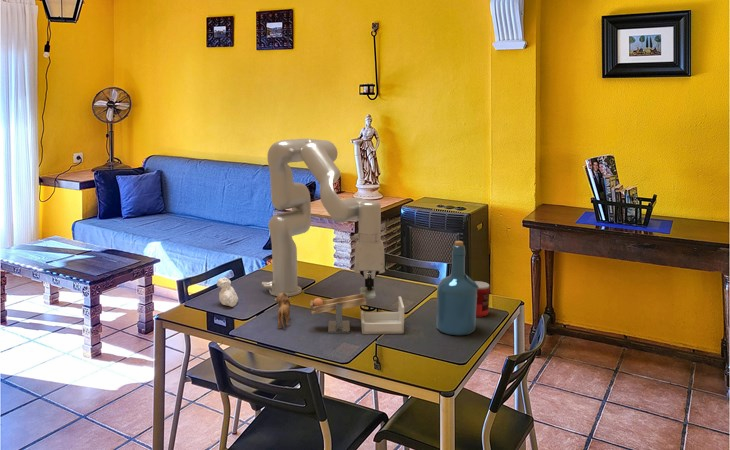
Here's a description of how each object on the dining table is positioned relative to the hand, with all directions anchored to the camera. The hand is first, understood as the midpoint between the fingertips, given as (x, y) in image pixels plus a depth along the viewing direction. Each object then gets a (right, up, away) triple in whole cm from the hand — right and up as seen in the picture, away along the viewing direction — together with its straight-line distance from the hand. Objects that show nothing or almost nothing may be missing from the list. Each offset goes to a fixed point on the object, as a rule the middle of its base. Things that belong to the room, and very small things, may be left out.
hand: (369, 288), depth 207 cm
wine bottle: (+29, -13, -8) cm, 33 cm away
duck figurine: (-52, -7, +15) cm, 55 cm away
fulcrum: (-10, -12, -8) cm, 18 cm away
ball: (-17, -4, -10) cm, 20 cm away
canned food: (+38, -10, +6) cm, 40 cm away
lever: (-9, -3, -4) cm, 10 cm away
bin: (+4, -12, -7) cm, 15 cm away
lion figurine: (-29, -11, -3) cm, 32 cm away
